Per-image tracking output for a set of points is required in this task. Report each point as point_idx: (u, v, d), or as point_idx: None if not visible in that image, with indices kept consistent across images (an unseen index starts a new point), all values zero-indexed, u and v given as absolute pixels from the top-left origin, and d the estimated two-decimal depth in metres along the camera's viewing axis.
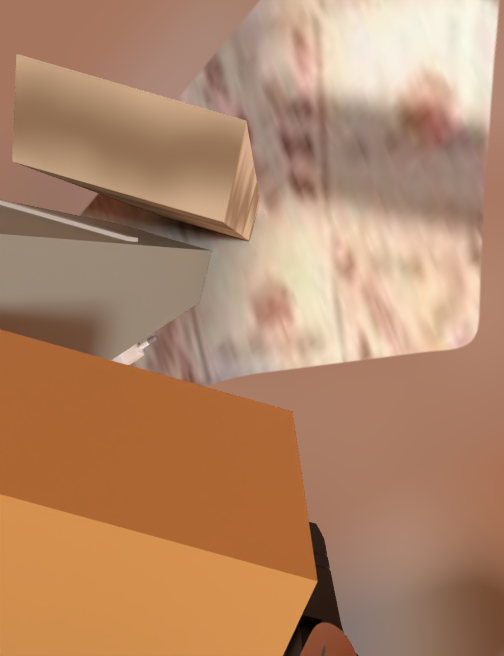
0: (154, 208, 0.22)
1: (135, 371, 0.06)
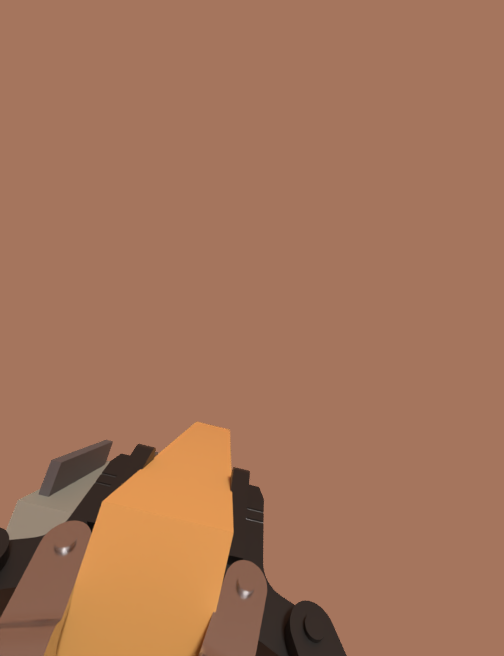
0: None
1: None
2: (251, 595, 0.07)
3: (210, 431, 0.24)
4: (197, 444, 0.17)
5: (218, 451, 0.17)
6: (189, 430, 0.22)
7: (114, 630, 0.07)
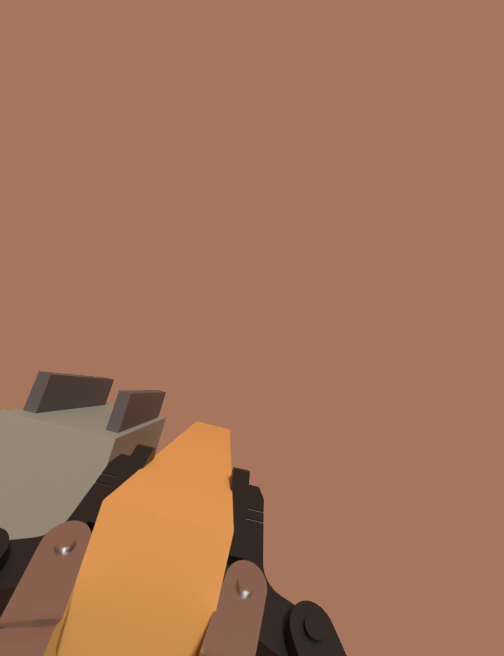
0: None
1: None
2: (251, 595, 0.07)
3: (210, 431, 0.24)
4: (197, 444, 0.17)
5: (218, 451, 0.17)
6: (189, 430, 0.22)
7: (115, 629, 0.07)
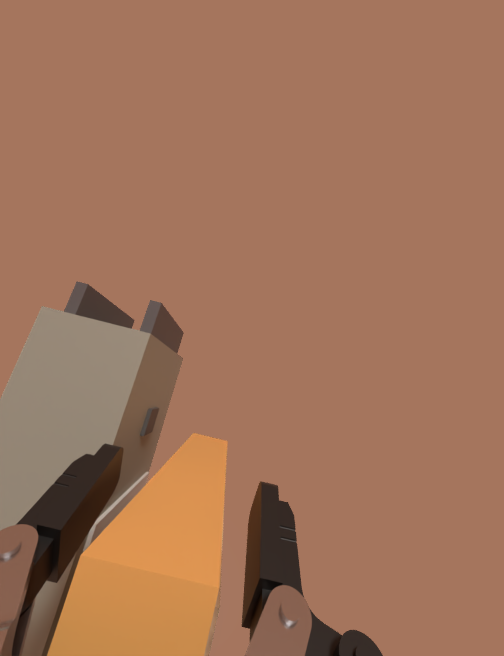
0: None
1: None
2: (296, 625, 0.07)
3: (206, 445, 0.24)
4: (191, 464, 0.17)
5: (212, 472, 0.16)
6: (185, 445, 0.22)
7: None
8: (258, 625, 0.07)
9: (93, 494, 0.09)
